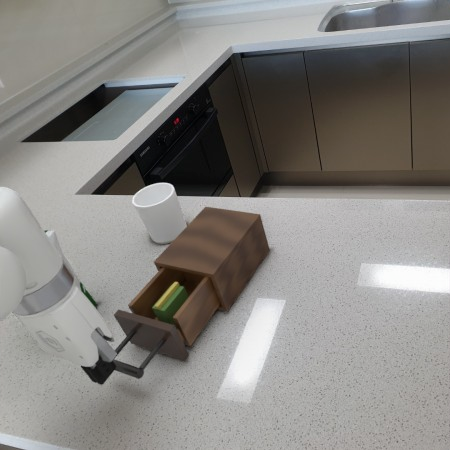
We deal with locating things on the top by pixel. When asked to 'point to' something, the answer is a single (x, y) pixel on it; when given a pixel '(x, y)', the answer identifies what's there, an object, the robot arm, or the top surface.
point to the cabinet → (219, 250)
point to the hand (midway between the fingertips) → (105, 374)
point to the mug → (160, 212)
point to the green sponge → (170, 303)
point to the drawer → (160, 331)
